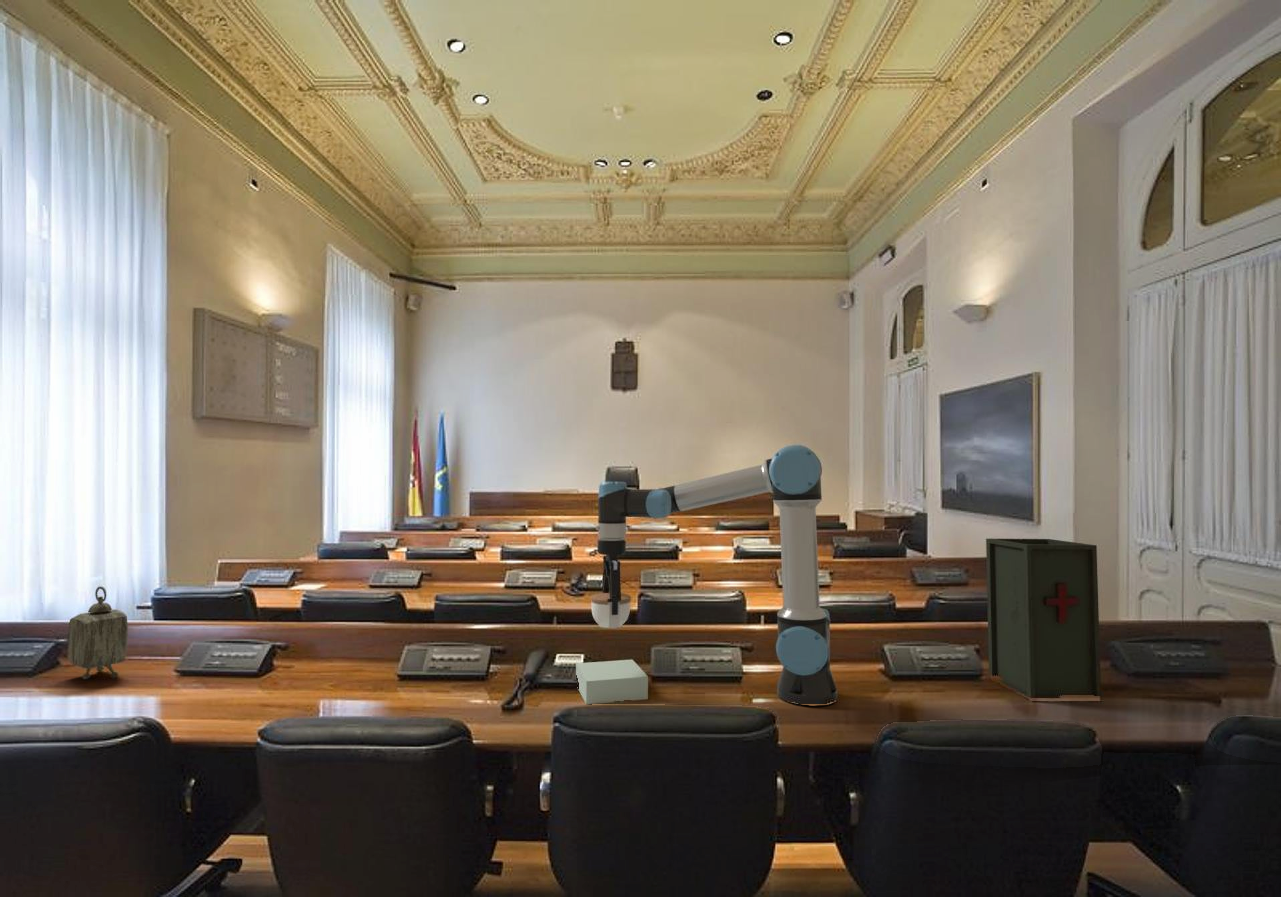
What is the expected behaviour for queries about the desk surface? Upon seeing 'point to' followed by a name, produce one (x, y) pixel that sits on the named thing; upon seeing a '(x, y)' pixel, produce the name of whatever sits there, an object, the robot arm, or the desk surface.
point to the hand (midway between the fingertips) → (610, 622)
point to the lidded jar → (602, 609)
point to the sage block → (611, 681)
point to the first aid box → (1043, 616)
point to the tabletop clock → (98, 637)
